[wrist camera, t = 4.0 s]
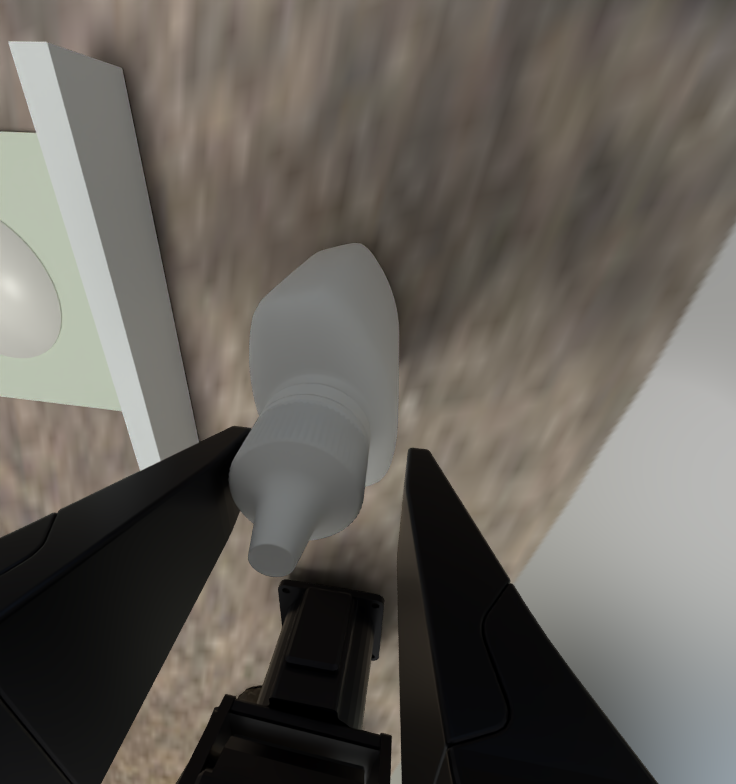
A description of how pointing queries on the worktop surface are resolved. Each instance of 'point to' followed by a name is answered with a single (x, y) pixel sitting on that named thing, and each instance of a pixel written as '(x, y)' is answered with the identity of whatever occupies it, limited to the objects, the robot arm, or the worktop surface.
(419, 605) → the robot arm
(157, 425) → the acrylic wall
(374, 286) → the eye dropper bottle
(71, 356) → the pad
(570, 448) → the worktop surface
